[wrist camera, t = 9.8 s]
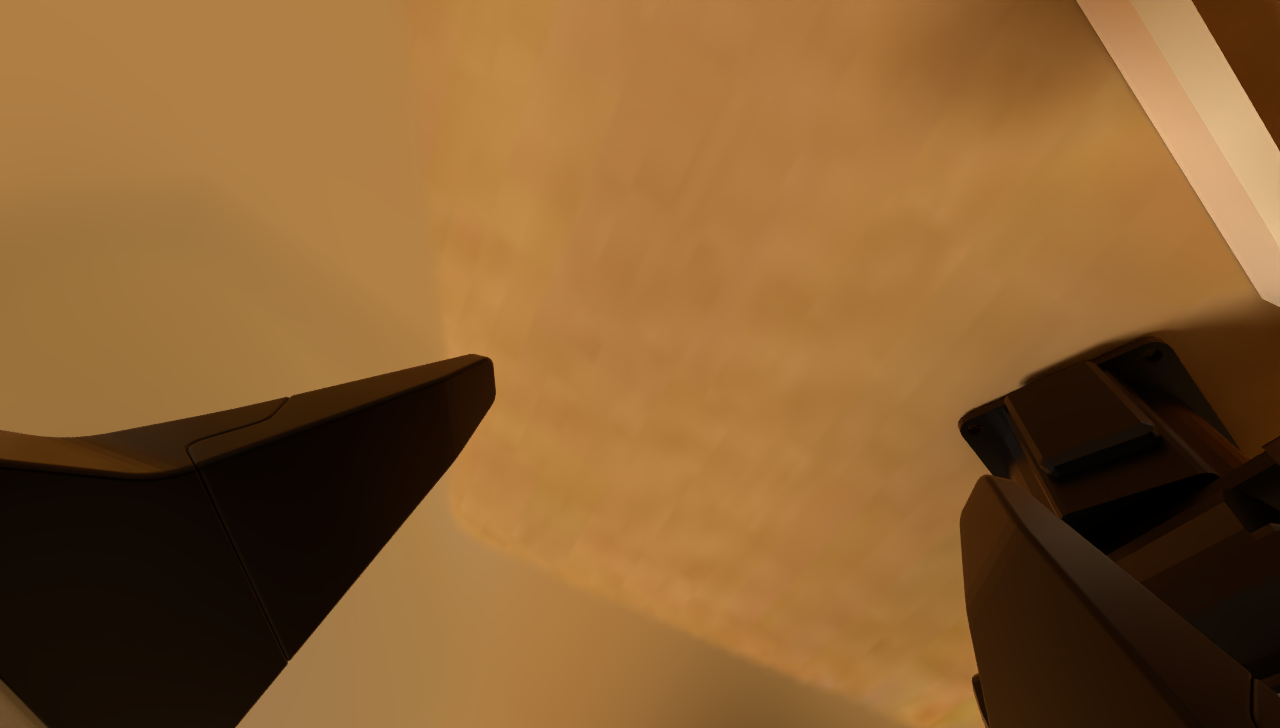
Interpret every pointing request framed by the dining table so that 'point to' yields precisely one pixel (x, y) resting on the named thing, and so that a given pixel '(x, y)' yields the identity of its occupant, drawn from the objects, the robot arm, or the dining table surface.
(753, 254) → the dining table surface
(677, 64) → the dining table surface
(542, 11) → the dining table surface
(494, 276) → the dining table surface
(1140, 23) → the white bin
